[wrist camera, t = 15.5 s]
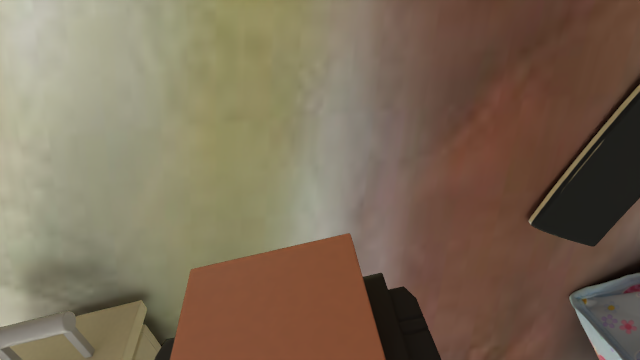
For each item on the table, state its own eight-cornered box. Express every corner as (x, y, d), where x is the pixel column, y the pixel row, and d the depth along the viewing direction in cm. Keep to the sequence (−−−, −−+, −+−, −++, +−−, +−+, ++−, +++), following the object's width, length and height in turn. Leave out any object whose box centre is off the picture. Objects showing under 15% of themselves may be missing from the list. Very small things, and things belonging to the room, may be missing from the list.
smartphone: (530, 229, 33) (673, 59, 26) (522, 220, 34) (658, 54, 27) (592, 249, 35) (739, 97, 29) (584, 241, 36) (723, 92, 30)
